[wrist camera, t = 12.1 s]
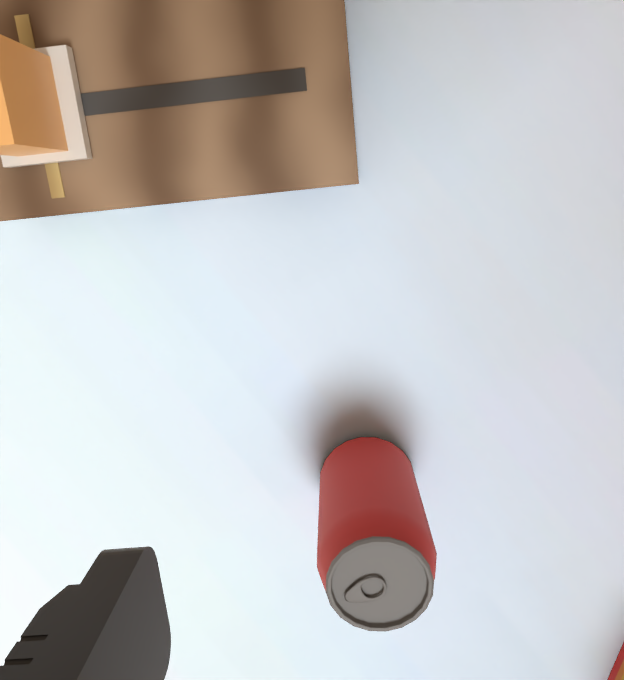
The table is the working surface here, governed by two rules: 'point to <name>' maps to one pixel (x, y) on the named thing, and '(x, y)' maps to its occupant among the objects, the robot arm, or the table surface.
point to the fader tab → (40, 106)
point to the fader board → (191, 101)
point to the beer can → (374, 536)
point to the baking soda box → (618, 667)
